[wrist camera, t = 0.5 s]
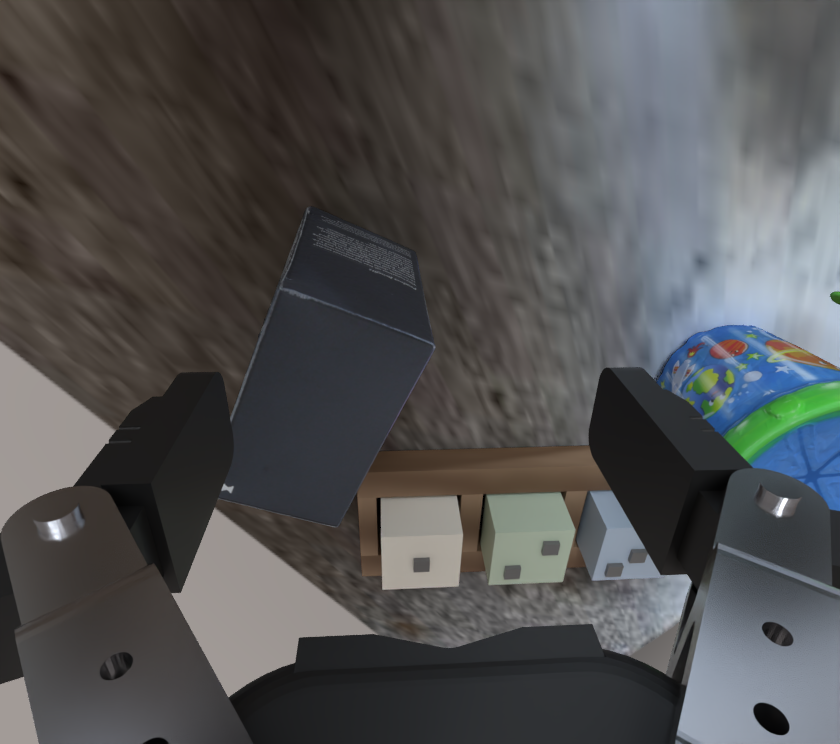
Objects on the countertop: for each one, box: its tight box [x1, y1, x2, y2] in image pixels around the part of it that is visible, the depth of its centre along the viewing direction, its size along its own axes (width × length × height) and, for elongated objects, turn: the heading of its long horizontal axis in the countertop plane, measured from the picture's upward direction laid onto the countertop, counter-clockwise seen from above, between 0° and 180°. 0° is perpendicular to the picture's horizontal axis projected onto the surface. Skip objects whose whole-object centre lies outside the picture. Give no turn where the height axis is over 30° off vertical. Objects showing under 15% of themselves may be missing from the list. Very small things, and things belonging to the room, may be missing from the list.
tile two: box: [480, 492, 575, 585], centre depth 36 cm, size 5×5×4 cm
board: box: [357, 446, 611, 576], centre depth 38 cm, size 10×22×2 cm, turn 89°
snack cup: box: [657, 292, 840, 511], centre depth 29 cm, size 16×10×10 cm
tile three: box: [576, 490, 665, 581], centre depth 36 cm, size 5×5×4 cm
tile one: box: [381, 495, 463, 590], centre depth 35 cm, size 5×5×4 cm
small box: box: [218, 206, 435, 527], centre depth 25 cm, size 11×6×10 cm, turn 155°
